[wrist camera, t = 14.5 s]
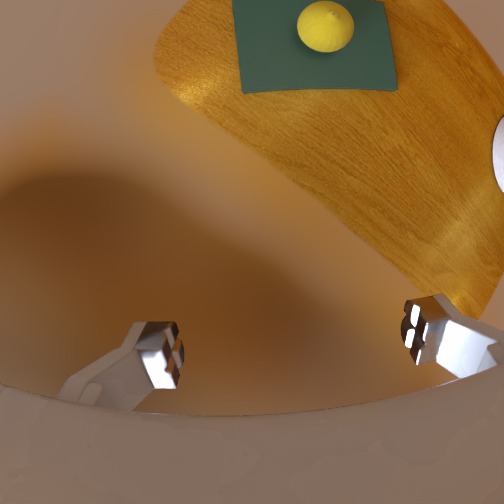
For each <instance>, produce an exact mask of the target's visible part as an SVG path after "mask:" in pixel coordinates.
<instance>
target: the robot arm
mask: <svg viewBox="0 0 504 504" xmlns="http://www.w3.org/2000/svg"><path fill="white" fill-rule="evenodd" d="M493 166H494V172H495V176H496V179H497V182H498V184H499V186H500V188H501V190H502V191H503V193H504V117H503V118H502V119H501V121H500V122H499V124H498V126H497V129H496V132H495V136H494V141H493ZM404 312H405V313H406V316H405V317H404V319H403V320H402V323H401V336H402V339H403V342H404V343H405V345H406V346H408V347H410V348H411V349H410V355H411V356H412V358H413V360H414V362H415V364H416V365H418V364H423V363H428V362H432V361H436V362H437V363H439V364H440V365H442V366H443V367H444V368H446V369H447V370H449V371H450V372H452V373H453V374H455V375H456V376H457V377H459V378H460V379H457V380H455V381H451V382H448V383H445V384H441V385H438V386H434V387H431V388H428V389H423V390H420V391H416V392H412V393H408V394H404V395H400V396H395V397H391V398H386V399H381V400H377V401H371V402H366V403H361V404H355V405H349V406H342V407H336V408H328V409H321V410H312V411H303V412H293V413H281V414H266V415H243V416H190V415H170V414H156V413H146V412H145V413H144V412H135V411H132V410H133V409H134V408H135V407H136V406H137V405H138V404H139V403H140V402H141V401H142V400H143V399H144V398H145V397H146V396H147V395H148V394H149V393H150V392H151V391H152V390H153V388H176V387H177V383H178V380H179V377H180V374H179V371H178V369H180V368H181V367H182V366H183V362H184V347H183V344H182V341H181V340H180V339H179V338H178V337H177V335H178V332H179V330H178V327H177V324H176V323H175V322H135V323H134V324H133V325H132V327H131V329H130V331H129V332H128V334H127V336H126V338H125V339H124V341H123V343H122V345H121V347H120V348H119V349H114V350H113V351H111V352H109V353H108V354H106V355H105V356H103V357H101V358H100V359H98V360H97V361H95V362H93V363H92V364H90V365H88V366H87V367H85V368H84V369H82V370H80V371H79V372H77V373H76V374H74V375H72V376H71V377H69V378H68V379H67V380H66V382H65V384H64V385H63V387H62V389H61V390H60V392H59V394H58V395H57V397H56V398H52V397H47V396H43V395H39V394H35V393H31V392H28V391H24V390H20V389H17V388H14V387H10V386H7V385H4V384H1V383H0V504H504V331H503V330H501V329H498V328H496V327H494V326H491V325H488V324H486V323H484V322H481V321H479V320H477V319H474V318H472V317H469V316H467V315H466V316H463V315H462V314H461V313H460V312H459V311H458V309H457V308H456V307H455V306H454V305H453V304H452V303H451V302H450V301H449V299H448V298H447V297H446V296H445V295H444V294H437V295H432V296H428V297H423V298H418V299H412V300H407V301H406V303H405V307H404Z"/></svg>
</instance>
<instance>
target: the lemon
mask: <svg viewBox="0 0 504 504" xmlns="http://www.w3.org/2000/svg"><path fill="white" fill-rule="evenodd" d="M297 29H298V34H299V36H300V38H301V40H302V41H303V42H304V43H305V44H306V45H307V46H308V47H310V48H311V49H314V50H316V51H320V52H333V51H337V50H339V49H341V48H343V47H344V46H345V45H346V44H348V43H349V41H350V39H351V38H352V36H353V32H354V22H353V19H352V16H351V15H350V13H349V12H348V10H346V9H345V8H344V7H343V6H341V5H340V4H338V3H335V2H332V1H318V2H315V3H312V4H310V5H309V6H307V7H306V8H305V9H304V10H303V11H302V12H301V14H300V16H299V18H298V22H297Z"/></svg>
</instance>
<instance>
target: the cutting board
mask: <svg viewBox="0 0 504 504" xmlns="http://www.w3.org/2000/svg"><path fill="white" fill-rule="evenodd" d="M318 1H332V2H335V3H338V4H340V5H341V6H343V7H344V8H345V9H346V10H348V12H349V13H350V15H351V16H352V19H353V22H354V32H353V36H352V38H351V39H350V41H349V43H348V44H346V45H345V46H344V47H343V48H341V49H339V50H337V51H333V52H320V51H316V50H314V49H311V48H310V47H308V46H307V45H306V44H305V43H304V42H303V41H302V40H301V38H300V36H299V34H298V29H297V22H298V18H299V16H300V14H301V12H302V11H303V10H304V9H305V8H306V7H307V6H309V5H310V4H312V3H315V2H318ZM232 5H233V14H234V22H235V31H236V40H237V48H238V57H239V66H240V74H241V83H242V92H243V94H245V93H255V92H266V91H280V90H299V89H366V90H384V91H395V90H398V87H397V79H396V71H395V63H394V56H393V50H392V44H391V38H390V32H389V27H388V22H387V17H386V12H385V8H384V4H383V2H377V1H370V0H232Z"/></svg>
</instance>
